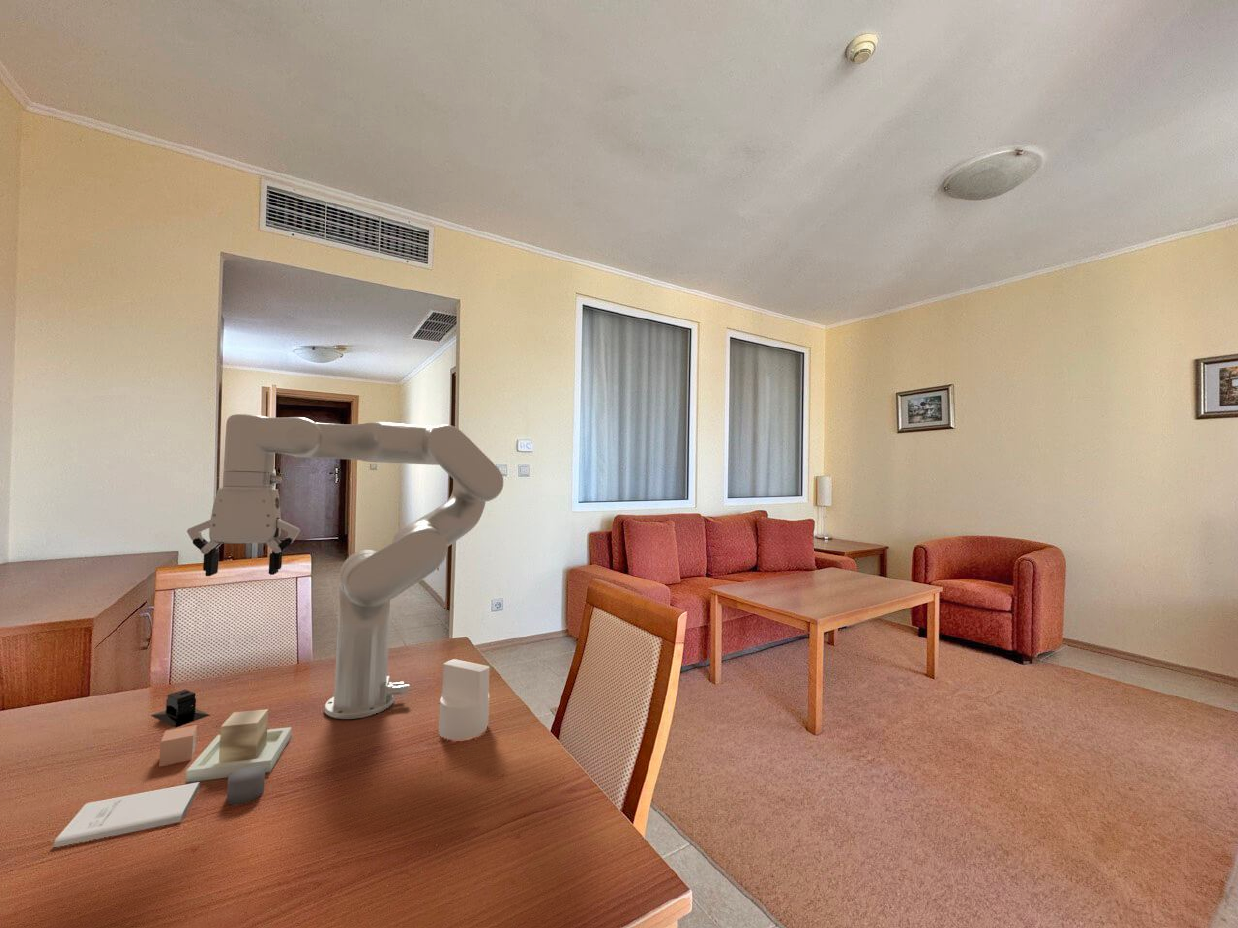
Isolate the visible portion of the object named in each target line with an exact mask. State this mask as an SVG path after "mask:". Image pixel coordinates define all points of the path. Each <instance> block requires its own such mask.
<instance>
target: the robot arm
mask: <svg viewBox="0 0 1238 928" xmlns="http://www.w3.org/2000/svg"><path fill="white" fill-rule="evenodd" d="M224 437H225V439H224V440H225V441H224V457H223V472H222V488H218V489H217V491H216V495H215V497H214V502H213V505H212V510H211V515H210V519H208V520H206V521H204V522H201V523H199V524H197V525H194V526H192V527H189V528H187V530H186V533H187V534H188V536H189V538H190V540H191V541H192V544H193V545H194V546H195V547H196V548H197V549H199V550H200V552H201V554H203V565H202V566H203V568H202V570H203V572H205V577H211V576H213V575H216V574H218V572H219V555H220V554H219V551H217V549H218V548H219V547H221V545H222V544H266V545H267V546H268V547H269V548H270V550H271V553H269V560H268V575H269V576H273V575H275V574H277V573H279V570H281V569H282V567H283V566H282V563H283V552H284V551H285V550H286V549H287V548H288V547H289V546H291V545H292V544H293V543H294V542H295V540H296V538H297V537H298V535H299V533H300V531H301V529H300V528H299V527H297V526H295V525H293V524H291V523H289V522H286V521H284V520H283V519H281V517H282V515H281V501H280V494H279V489H275V488H273V487H274V486H275V485H277V484H282V483H283V476H279V475H276V473H275V470H274V469H275V455H276V454H281V455H282V454H283V455H288V456H291V457H295V458H307V459H330V460H331V459H332V460H335V459H336V460H339V459H340V460H351V461H362V462H367V463H381V464H383V463H385V464H386V463H387V464H410V465H413V464H414V465H432V466H433V465H435V466H438V465H439V466H440V467H441V469H443V470H444V471H445V473H446V474H448V476H449V477H451V478H452V479H453V481H452V482H453V483H452V484H453V486H452V492H451V494H450V497H449V498H448V499H447V500H446V501H445V502H444V503H443V504H441V505H439V506H438V507H436V508H435V509H434V510H432V511H430V512H428V513H427V514H425V515H424V516H421V517H420V518H419V519H417V520H414V521H413V522H411V523H409V524H407V525H405V526H403V527H402V528H400V529H399V530H397V532H396V533H395V535H394V536H393V539H392V541H391V543H389V544H388V545H386V546H384V547H382V548H381V549H379V550H378V551H377V550H374V549H363V550H358V551H356V552H354V553H352V554H351V555H350V556H348V557H347V559H345V561H344V562H343V564H342V566H341V568H340V572H339V577H338V619H337V620H338V621H337V634H336V636H337V637H336V652H335V653H336V654H335V656H336V658H335V670H334V672H335V673H334V693H333V696H331V698H329V699H328V700H327V701H326V702H325V703H324V713H325V714H326V715H327V716H329V717H331V718H333V719H339V720H354V719H355V720H356V719H361V718H367V717H370V716H374V715H376V713H377V714H379V713H381V712H383V711H385V710H387V709H388V708H390V706H392V705H393V703H394V699H395V696H404V695H405V696H406V695H407V696H408V695H409V692H410V684H405V681H398V682H393V681H390V675H388V658H389V656H388V655H389V639H390V637H389V636H390V624H391V623H390V622H391V600H393V599H394V598H396V597H398V596H399V595H401V594H403V592H405V591H406V590H408V589H410V588H412V587H413V586H415V585H416V584H417V583H419V582H421V581H422V580H424V579H425V578H427V577H428V576H429V575H431V574H433V573H434V572H435V571H436V570H438V569H439V567H440V566H441V565H442V564H443V562H444V561H445V560H446V557H447V555H448V549H449V546H451V545H452V544H454V543H455V542H457V541H458V540H460V539H461V538H463V536H465V535H466V534H468V533H469V532H470V531H472V530H473V529H474V528H475V527H476V525H477V524H478V523H479V521H480V519H481V517H482V514H483V513H484V509H485V507H486V506H485V505H486V502H490V501H493V500H494V499H496V498H497V497H498V496H499V495H500V494H501V493H502V490H503V487H504V477H503V475H502V474H503V473H502V472H501V470H500V468H499V467H498V466H497V465H496V464H495V463H494V462H493V461H492V460H491V459H490V458H489V457H488V456H487V455H486V454H485V453H484V452H483V451H482V450H481V449H480V448H479V447H478V446H477V445H476V444H475V443H474V441H472V440H471V439H470V438H469V437H468V436H467V435H466V434H465V433H464V432H463V431H461V429H459V428H457V427H456V426H454V425H451V424H450V425H449V424H441V425H436V426H433V425H421V424H419V425H418V424H409V423H408V424H407V423H398V422H397V423H396V422H387V421H376V422H375V421H372V422H365V423H356V424H355V423H354V424H352V423H351V424H350V423H349V424H344V423H342V424H341V423H329V422H328V423H325V422H315V421H313V420H312V419H309V418H307V417H304V416H303V417H302V416H301V417H300V416H289V417H269V416H264V415H257V414H247V413H246V414H241V413H240V414H239V413H237V414H231V415H230V416H229V417H228V418H227V420H226V425H225V436H224ZM206 530H208V534H209V535H208V537H209V541H208V540H206V539H205V538H204V537H203V536H202V532H203V531H206ZM282 531H285V532H287V533H288V534H287V536H286V538H285V539H283V540H282V541H281V540H280V539H279V538H280V536H281V533H282ZM386 708H387V709H386ZM384 709H385V710H384ZM382 710H383V711H382ZM373 714H374V715H373Z"/></svg>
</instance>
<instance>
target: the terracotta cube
mask: <svg viewBox="0 0 1238 928" xmlns="http://www.w3.org/2000/svg"><path fill="white" fill-rule="evenodd" d="M197 727H198V725H197V724H195V725H190V726H184V727H177V728H174V729H168V730H165V731H164V733H163V736H162V738H161V740H160V744H159V745H160V747H159V764H158V766H159V768H160V767H164V766H168V765H174V764H179V763H184V762H187V761H192V760H193V757H194V755H195V751H196V748H197V746H196V744H197V730H198V728H197Z"/></svg>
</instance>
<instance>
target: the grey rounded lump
mask: <svg viewBox="0 0 1238 928" xmlns="http://www.w3.org/2000/svg"><path fill="white" fill-rule="evenodd" d="M265 777H266V772H265V768H264V767H261V766H251V767H246V768H243V769H240V770H238V771H236V772H234V773H233V774H231V775H230V776H229V777H227V790H226V791H227V793H226V802H227V804H229V805H243V804H246V803H250V802H252V801H254V800H256V799H258V798H259V797H261V796H262V795H263V793H264V792H265V780H266V779H265Z"/></svg>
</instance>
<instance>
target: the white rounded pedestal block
mask: <svg viewBox="0 0 1238 928" xmlns="http://www.w3.org/2000/svg"><path fill="white" fill-rule="evenodd" d="M442 667H443V668H442V669H443V670H442V673H443V674H442V688H441V689H442V691H441V692H442V693H441V697H440V699H439V717H438V718H439V719H438V721H439V722H438V735H439V734H440V735H439V736H441V738H442V737H444V738H447V739H452V740H460V739H467V738H470V737H475V736H477V735H479V734H481V733H482V732H483V731H484V730H485V729H486V728H487V726H488V727H489V716H490V714H489V713H490V712H489V711H490V692H489V691H490V671H491V670H490V669H491V668H490V667H491V666H489V665H485V664H480V663H476V662H475V663H474V662H470V661H465V660H460V659H456V658H452V659H451V660H447V661H446V662H444V663H443V665H442Z"/></svg>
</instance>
